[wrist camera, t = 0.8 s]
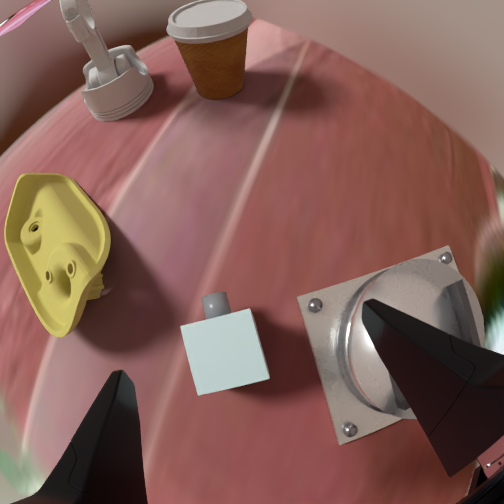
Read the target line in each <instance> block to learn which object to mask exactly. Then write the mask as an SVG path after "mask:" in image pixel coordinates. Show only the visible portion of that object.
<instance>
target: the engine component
mask: <svg viewBox="0 0 504 504" xmlns="http://www.w3.org/2000/svg"><path fill="white" fill-rule="evenodd" d="M60 7H61V11H62V14H63V17H64V20H65V22H66V24H67V27H68V28H69V30H70V32H71V33H72V35H73V36H74V38H75V39H76V40H77V42H82V43H83V45H84V47H85V49H86V50H87V52H88V54H89V56H90V57H91V59H92V60H91V61H90V62H88V63H87V64H86V65H85V66H84V68H83V73H84V75H85V77H86V90H84V91H82V92H81V94H82V95H83V97H84V102H85V104H86V105H87V107H88V108H89V110H90V112H91V113H92V115H93V116H94V117H95V119H97V120H99V121H104V122H108V121H114V120H118V119H121V118H123V117H125V116H127V115H129V114H131V113H133V112H134V111H136V110H137V109H138V108H140V107H141V106H142V105H143V104H144V103H145V102H146V101H147V100H148V99H149V97H150V95H151V94H152V91H153V87H154V85H153V81H152V79H151V76H150V74H149V71H148V69H147V67H146V65H145V64H144V63H143V62H142V61H141V60H140V59H139V57H138V56H137V55H136V53H135V51H134V49H133V48H132V47H131V46H129V45H126V46H119V47H116V48H113V49H110V50H108V49H107V48H106V45H105V43H104V41H103V39H102V37H101V35H100V33H99V31H98V29H97V26H96V23H95V19H94V16H93V12H92V9H91V7H90V4H89V2H88V0H60Z"/></svg>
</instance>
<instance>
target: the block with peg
mask: <svg viewBox="0 0 504 504" xmlns="http://www.w3.org/2000/svg"><path fill="white" fill-rule="evenodd" d="M201 300H202V304H203V308H204V312H205V316H206V320H203V321H199V322H195V323H191V324H187V325H183V326H180V327H181V332H182V336H183V340H184V344H185V348H186V352H187V356H188V360H189V364H190V368H191V371H192V375H193V379H194V383H195V386H196V390H197V393H198V395H202V394H207V393H212V392H216V391H221V390H226V389H230V388H234V387H239V386H243V385H247V384H251V383H255V382H259V381H263V380H266V379H270V377H269V369H268V366H267V362H266V359H265V355H264V352H263V348H262V345H261V341H260V338H259V334H258V330H257V327H256V323H255V320H254V316H253V314H252V312H251V310H250V308H249V309H245V310H242V311H238V312H234V313H231V309H230V305H229V302H228V298H227V294H226V292H217V293H213V294H209V295H206V296H204V297H202V298H201Z"/></svg>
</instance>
